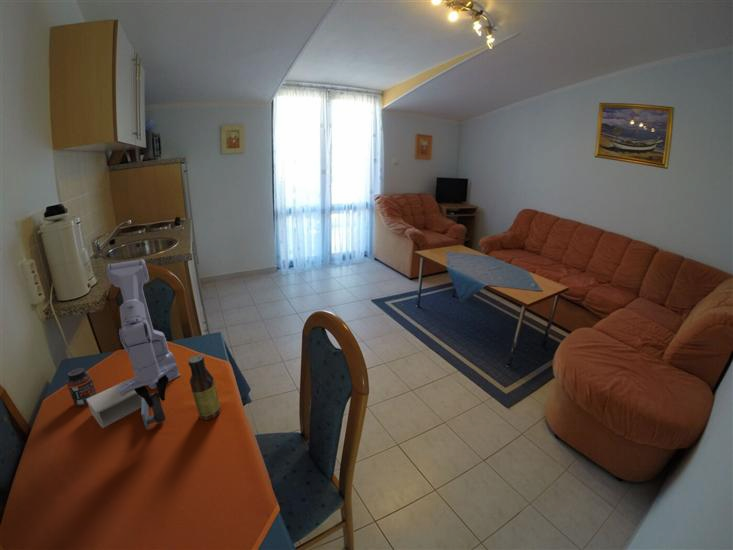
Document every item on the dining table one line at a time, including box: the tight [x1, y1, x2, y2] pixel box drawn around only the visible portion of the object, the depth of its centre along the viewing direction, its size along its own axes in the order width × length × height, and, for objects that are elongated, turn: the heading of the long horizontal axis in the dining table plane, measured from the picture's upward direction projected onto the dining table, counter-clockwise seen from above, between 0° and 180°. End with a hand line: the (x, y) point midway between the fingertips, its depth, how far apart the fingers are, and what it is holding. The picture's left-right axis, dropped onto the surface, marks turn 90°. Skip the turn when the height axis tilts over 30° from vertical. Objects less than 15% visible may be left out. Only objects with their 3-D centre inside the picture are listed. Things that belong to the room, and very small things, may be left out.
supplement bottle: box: [66, 367, 98, 407], centre depth 108 cm, size 6×6×11 cm
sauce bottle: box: [187, 354, 221, 421], centre depth 100 cm, size 7×6×20 cm
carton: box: [86, 378, 142, 429], centre depth 105 cm, size 12×9×6 cm
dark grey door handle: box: [140, 392, 166, 430], centre depth 101 cm, size 12×5×10 cm, turn 32°
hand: (156, 402), depth 98 cm, fingers open, 3 cm apart
